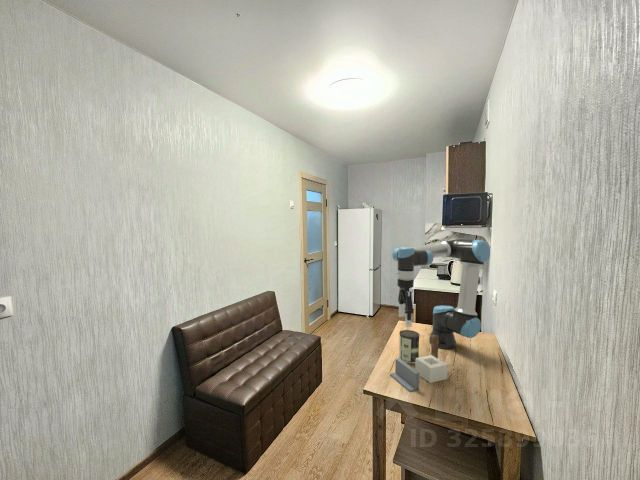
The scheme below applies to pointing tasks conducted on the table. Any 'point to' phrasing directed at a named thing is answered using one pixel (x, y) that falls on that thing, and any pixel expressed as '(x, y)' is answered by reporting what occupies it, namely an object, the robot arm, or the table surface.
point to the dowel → (434, 346)
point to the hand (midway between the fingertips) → (404, 321)
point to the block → (431, 368)
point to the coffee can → (409, 346)
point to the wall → (406, 376)
